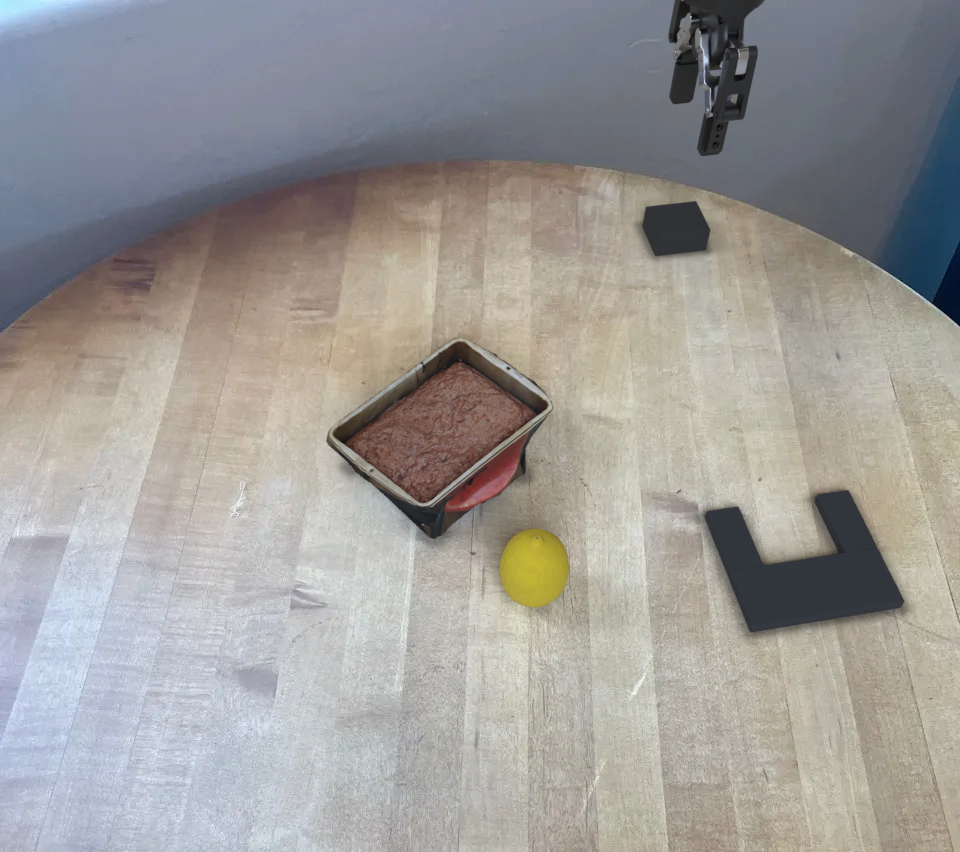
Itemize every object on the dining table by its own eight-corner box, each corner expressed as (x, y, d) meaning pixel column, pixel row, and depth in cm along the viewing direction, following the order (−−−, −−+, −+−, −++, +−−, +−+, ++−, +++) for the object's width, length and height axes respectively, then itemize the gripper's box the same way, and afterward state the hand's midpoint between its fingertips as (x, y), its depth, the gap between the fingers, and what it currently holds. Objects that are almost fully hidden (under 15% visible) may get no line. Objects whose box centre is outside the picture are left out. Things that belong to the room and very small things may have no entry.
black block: (690, 225, 108) (696, 200, 106) (705, 254, 106) (710, 230, 103) (641, 231, 108) (645, 206, 105) (654, 260, 105) (659, 236, 103)
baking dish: (558, 488, 91) (574, 397, 84) (409, 575, 82) (412, 482, 75) (453, 412, 97) (459, 321, 90) (305, 486, 89) (298, 391, 81)
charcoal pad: (843, 500, 88) (848, 489, 87) (898, 611, 82) (905, 601, 81) (703, 521, 87) (706, 510, 86) (748, 636, 81) (753, 626, 79)
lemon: (574, 584, 83) (584, 524, 76) (549, 634, 80) (556, 577, 74) (514, 561, 84) (518, 500, 78) (487, 610, 82) (488, 552, 75)
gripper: (810, -29, 76) (757, 167, 90) (748, -112, 84) (708, 81, 98) (717, -21, 76) (678, 176, 89) (662, -105, 83) (634, 88, 97)
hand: (694, 126), depth 93 cm, fingers open, 8 cm apart
